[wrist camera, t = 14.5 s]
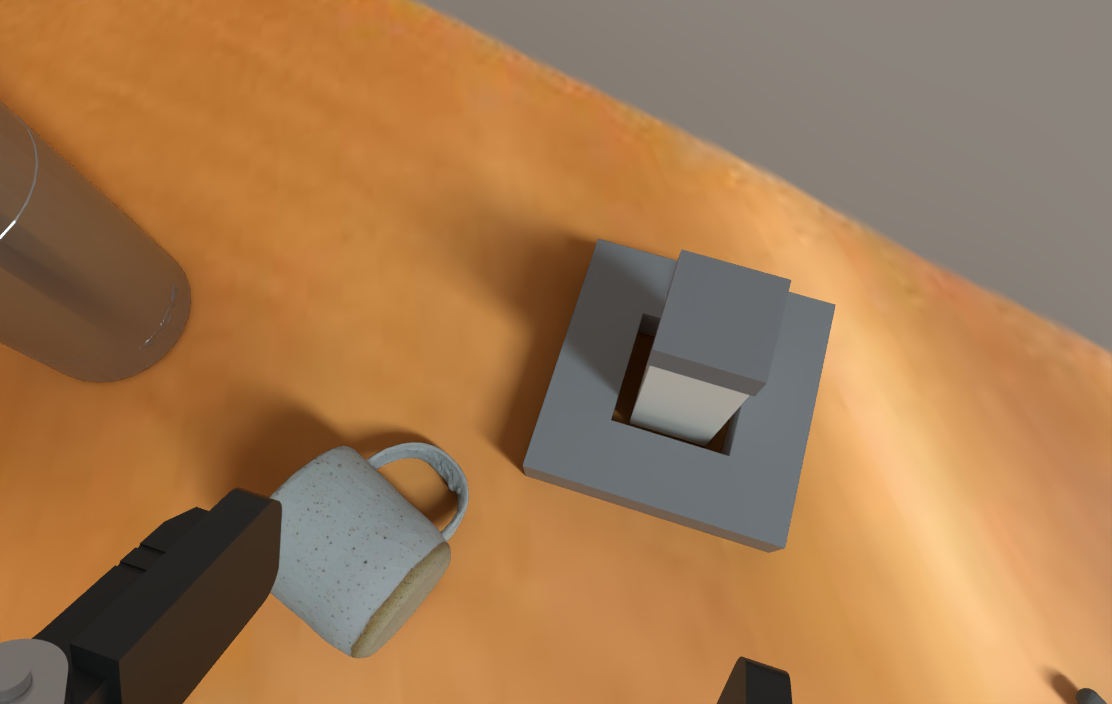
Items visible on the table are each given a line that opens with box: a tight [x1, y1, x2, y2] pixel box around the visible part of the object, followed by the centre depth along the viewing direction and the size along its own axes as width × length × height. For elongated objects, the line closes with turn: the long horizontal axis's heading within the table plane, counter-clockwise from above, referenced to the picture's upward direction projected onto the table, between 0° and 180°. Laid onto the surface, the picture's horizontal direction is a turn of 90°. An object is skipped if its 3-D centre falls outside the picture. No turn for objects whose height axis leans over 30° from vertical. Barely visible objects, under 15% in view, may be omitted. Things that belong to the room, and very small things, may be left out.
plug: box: [629, 250, 791, 446], centre depth 37 cm, size 5×5×13 cm
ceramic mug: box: [269, 442, 469, 658], centre depth 37 cm, size 11×8×8 cm
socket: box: [523, 239, 835, 553], centre depth 41 cm, size 14×14×4 cm
